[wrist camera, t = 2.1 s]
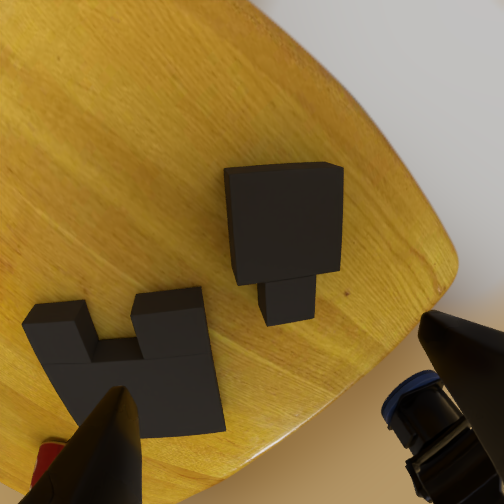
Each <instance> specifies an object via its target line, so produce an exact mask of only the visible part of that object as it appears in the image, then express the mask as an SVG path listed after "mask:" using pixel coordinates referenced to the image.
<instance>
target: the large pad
mask: <svg viewBox="0 0 504 504" xmlns="http://www.w3.org/2000/svg"><path fill="white" fill-rule="evenodd" d="M130 317H131V320H132V323H133V327H134V330H135V333H136V336H137V337H134V338H122V339H110V340H99V339H98V336H97V333H96V331H95V328H94V325H93V322H92V320H91V317H90V314H89V311H88V308H87V305H86V302H85V300H77V301H67V302H56V303H45V304H35V305H34V306H33V308H32V309H31V311H30V312H29V314H28V315H27V317H26V318H25V320H24V321H23V322H22V327H23V329H24V331H25V333H26V335H27V338H28V340H29V342H30V344H31V346H32V348H33V350H34V352H35V354H36V356H37V358H38V360H39V362H40V363H41V365H42V367H43V369H44V371H45V373H46V374H47V376H48V378H49V380H50V382H51V383H52V385H53V387H54V388H55V390H56V392H57V394H58V395H59V397H60V398H61V400H62V402H63V403H64V405H65V406H66V408H67V410H68V411H69V413H70V414H71V416H72V417H73V419H74V420H75V422H76V423H77V425H78V426H79V427H80V426H81V424H82V423H83V422H84V421H85V419H86V418H87V417H88V416H89V414H90V413H91V412H92V411H93V409H94V408H95V407H96V405H97V404H98V403H99V402H100V400H101V399H102V398H103V397H104V395H105V394H106V393H107V392H108V390H109V389H110V388H111V387H113V386H126V387H127V389H128V390H129V392H130V394H131V396H132V398H133V399H134V401H135V403H136V405H137V408H138V417H139V430H140V439H141V438H163V437H178V436H190V435H200V434H209V433H217V432H224V431H226V426H225V420H224V414H223V408H222V403H221V398H220V393H219V388H218V383H217V378H216V372H215V367H214V362H213V356H212V350H211V345H210V339H209V333H208V327H207V321H206V314H205V308H204V302H203V295H202V289H201V286H199V287H192V288H183V289H175V290H167V291H159V292H150V293H142V294H136V296H135V300H134V303H133V307H132V311H131V315H130Z"/></svg>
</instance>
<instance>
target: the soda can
mask: <svg viewBox="0 0 504 504" xmlns="http://www.w3.org/2000/svg"><path fill="white" fill-rule="evenodd" d="M66 444H67V443H64V442H53V441H49V442H44V443H42V444H41V446H40V449H39V452H38V456H37V460H36V464H35V468H34V472H33V477H32V481H31V486H30V490H31V489H32V487H33V486H34V485H35V484H36V482H37V481H38V480H39V479H40V477H41V476H42V475H43V473H44V472H45V471H46V470H48V467H49V466H50V464H51V463H52V462H53V460H54V459H55V458H56V457H57V455H58V454H59V453H60V451H61V450H62V449H63V448H64V446H65V445H66ZM30 490H29V491H30Z"/></svg>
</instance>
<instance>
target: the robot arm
mask: <svg viewBox="0 0 504 504" xmlns="http://www.w3.org/2000/svg"><path fill="white" fill-rule="evenodd" d="M418 338H419V341H420V343H421V345H422V347H423V348H424V350H425V352H426V354H427V356H428V358H429V359H430V361H431V363H432V365H433V367H434V369H435V371H436V372H437V374H438V376H439V379H436V380H434V381H432V382H430V383H427V384H425V385H423V386H420V387H418V388H415V389H413V390H411V391H408V392H406V393H403V394H402V395H401V396H400V397H399V400H398V403H397V405H396V408H395V410H394V413H393V415H392V417H391V420H390V422H389V424H388V427H387V428H388V429H389V430H394V432H395V434H396V435H397V437H398V438H399V440H400V441H401V443H402V445H403V446H404V448H406V449H407V448H409V449H410V451H411V452H412V454H413V457H412V458H409V459H408V460H406V461H405V462H406V464H407V465H406V466H405V467H406V469H407V471H408V472H409V474H410V476H411V478H412V481H413V484H414V488H415V491H416V495H417V496H418V497H422V498H424V499H425V500H426V501H427V502H429V503H432V502H433V504H504V332H502V331H499V330H496V329H493V328H489V327H486V326H483V325H480V324H477V323H474V322H471V321H467V320H465V319H461V318H458V317H455V316H452V315H449V314H446V313H443V312H440V311H437V310H430V311H427V312H425V313H423V314H422V316H421V320H420V325H419V330H418ZM443 385H445V387H446V388H447V390H448V391H449V392H450V394H451V396H452V397H453V399H454V400H455V402H456V403H457V405H458V407H459V408H460V410H461V411H462V413H463V414H462V413H461V412H460V410H459V409H458V408H457V406H456V405H455V404H454V403H453V402H452V401H451V399H450V398H449V397H448V396H447V394H446V393H445V392H444V391H443V390H442V388H443ZM470 427H472V429H470ZM18 504H142V453H141V442H140V430H139V417H138V408H137V405H136V403H135V401H134V399H133V398H132V396H131V394H130V392H129V390H128V389H127V387H126V386H113V387H111V388H110V389H109V390H108V392H107V393H106V394H105V395H104V397H103V398H102V399H101V400H100V402H99V403H98V404H97V405H96V407H95V408H94V409H93V411H92V412H91V413H90V414H89V416H88V417H87V418H86V419H85V421H84V422H83V423H82V424H81V426H80V427H79V428H78V430H77V431H76V432H75V433H74V435H73V436H72V437H71V438H70V440H69V441H68V442H67V444H66V445H65V446H64V448H63V449H62V450H61V451H60V453H59V454H58V455H57V457H56V458H55V459H54V460H53V462H52V463H51V464H50V466H49V467H48V470H46V471H45V472H44V473H43V475H42V476H41V477H40V479H39V480H38V481H37V482H36V484H35V485H34V486H33V487H32V489H31V490H30V491H29V492H28V493H27V494H26V496H25V497H24V498H23V499H22V500H21V501H20V502H19V503H18Z"/></svg>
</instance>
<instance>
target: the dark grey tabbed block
mask: <svg viewBox="0 0 504 504" xmlns="http://www.w3.org/2000/svg"><path fill="white" fill-rule="evenodd" d="M224 182H225V194H226V207H227V218H228V230H229V242H230V253H231V264H232V269H233V272H234V276H235V279H236V282H237V285H238V286H242V285H249V284H256V283H257V289H258V305H259V308H260V310H261V313H262V315H263V318H264V321H265V323H266V326H267V327H268V326H274V325H280V324H286V323H291V322H297V321H302V320H308V319H313V318H314V314H315V294H316V275H317V274H323V273H330V272H336V271H340V262H341V245H342V223H343V182H344V168H343V167H341V166H337V165H334V164H331V163H327V162H304V163H285V164H269V165H255V166H243V167H232V168H224Z"/></svg>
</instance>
